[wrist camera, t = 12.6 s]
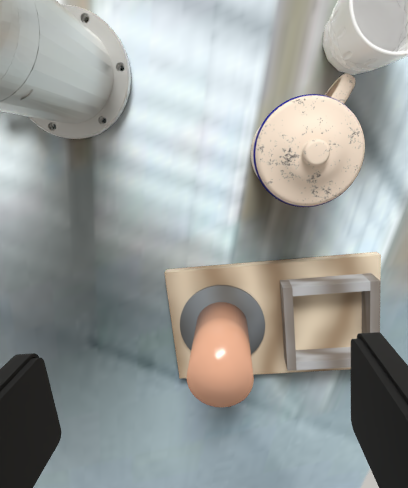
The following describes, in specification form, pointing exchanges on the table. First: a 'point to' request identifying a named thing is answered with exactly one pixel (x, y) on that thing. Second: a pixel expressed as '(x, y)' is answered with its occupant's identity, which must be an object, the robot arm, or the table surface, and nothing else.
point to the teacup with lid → (310, 147)
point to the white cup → (366, 34)
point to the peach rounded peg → (220, 356)
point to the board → (284, 308)
